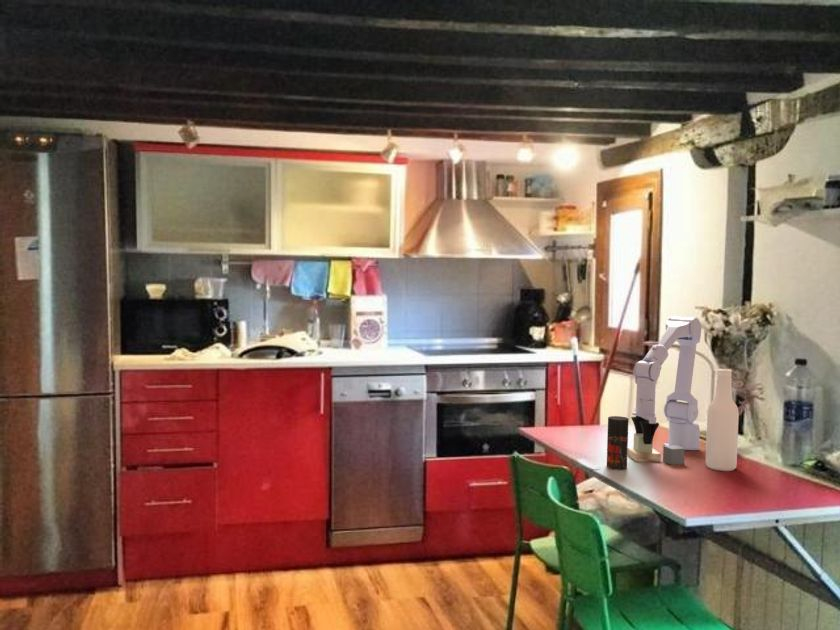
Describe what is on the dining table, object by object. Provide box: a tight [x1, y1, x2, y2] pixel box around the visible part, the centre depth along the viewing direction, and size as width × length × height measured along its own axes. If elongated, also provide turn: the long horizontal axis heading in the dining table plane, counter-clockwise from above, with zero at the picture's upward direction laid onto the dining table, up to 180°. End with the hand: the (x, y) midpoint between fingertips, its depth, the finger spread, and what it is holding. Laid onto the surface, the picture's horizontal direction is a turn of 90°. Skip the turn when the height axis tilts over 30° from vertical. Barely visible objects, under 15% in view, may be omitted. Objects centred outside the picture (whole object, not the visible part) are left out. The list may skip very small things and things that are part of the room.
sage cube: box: [633, 432, 654, 452], centre depth 241 cm, size 4×4×5 cm
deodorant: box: [606, 415, 629, 471], centre depth 229 cm, size 6×6×15 cm
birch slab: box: [627, 447, 662, 462], centre depth 241 cm, size 8×8×2 cm
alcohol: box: [704, 368, 740, 472], centre depth 230 cm, size 9×9×30 cm
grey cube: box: [662, 445, 686, 466], centre depth 236 cm, size 4×4×5 cm
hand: (644, 441), depth 241 cm, fingers open, 6 cm apart
